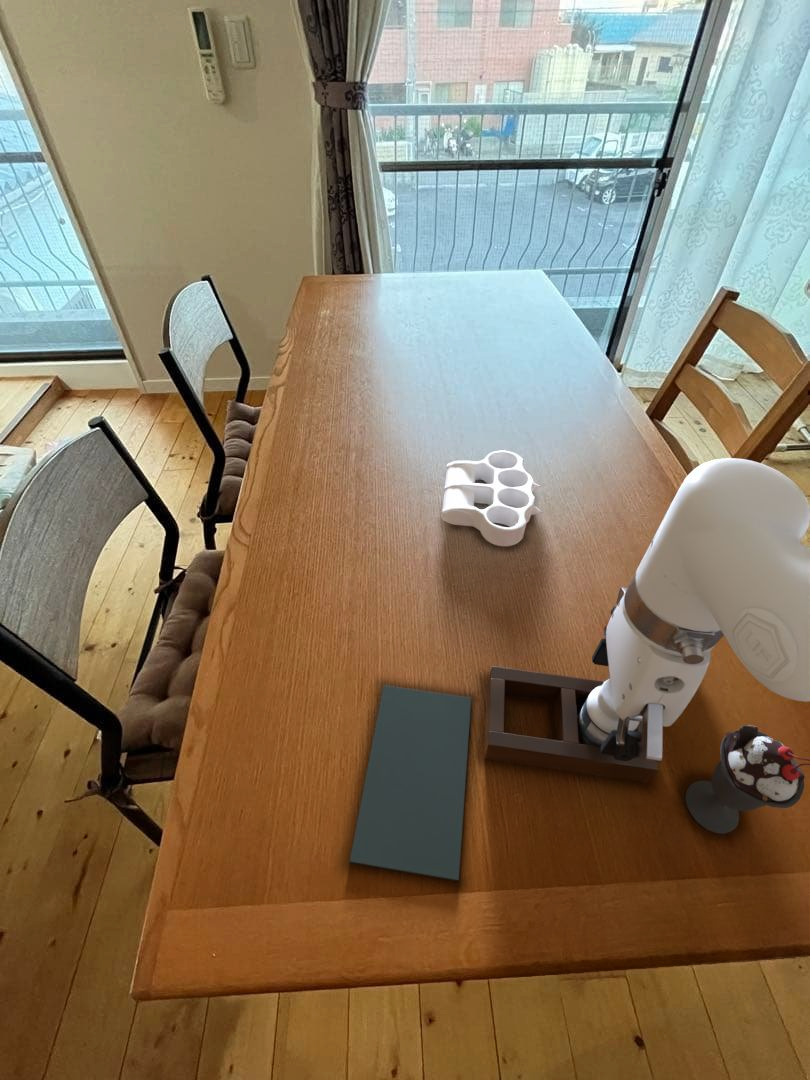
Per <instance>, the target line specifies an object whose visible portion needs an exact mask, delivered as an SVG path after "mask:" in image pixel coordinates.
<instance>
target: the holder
mask: <svg viewBox="0 0 810 1080" xmlns="http://www.w3.org/2000/svg"><path fill="white" fill-rule="evenodd" d="M604 682H605V681H604V680H597V679H589V678H582V677H581V678H580V677H576V676H575V677H574V676H567V675H561V674H553V673H546V672H538V671H531V670H525V669H524V670H523V669H517V668H515V669H514V668H509V667H503V666H502V667H501V666H494V665H492V666H491V668H490V672H489V676H488V680H487V691H486V692H487V693H486V694H487V695H486V707H485V708H486V711H485V713H486V714H485V731H484V748H483V749H484V752H483V758H484V759H485V760H491V761H498V762H506V763H512V764H519V765H524V766H531V767H536V768H537V767H538V768H544V769H552V770H559V771H563V772H564V771H566V772H569V773H570V772H571V773H578V774H585V775H592V776H597V777H603V778H604V777H605V778H610V779H617V780H623V781H631V782H636V783H643V784H647V783H649V782H650V780H651V779H652V778H653V777H654V776H655V775H656V773H657V772H658V771H659V764H658V763H659V762H655V761H648V760H643V759H640V758H637V757H636V758H633V759H632V760H630V761H620V760H616V759H614V757H613V756H611V755H604V754H602V753H601V748H600V747H597V746H590V745H583V744H579V738H578V724H577V716H578V711H577V707H581V708H582V707H583V705H584V704H585V702H586V700H587V698H588V696H589V694H590V693H591V692H592V691H593V690H594V689H595V688H596V687H598V686H601V685H603V683H604ZM505 697H513V698H517V699H518V698H519V699H526V700H533V701H540V702H548V703H553V705H554V728H555V739H549V738H542V737H535V736H528V735H522V734H514V733H509V732H505V727H504V726H505ZM642 711H643V709H642ZM634 731H637V732H642V722H639V725H638V726H637V728H636V729H635V730H634Z"/></svg>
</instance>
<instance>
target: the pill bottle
mask: <svg viewBox="0 0 810 1080" xmlns="http://www.w3.org/2000/svg"><path fill="white" fill-rule="evenodd" d="M618 721H619V716H618V715H617V714H616V712H615V708H614V704H613V697H612V689H611V681H610V678H608V679H606V680H605V681H604V683H603V685H601V686H598V687H596V688H595V689H594V690H593V691H592V692H591V693H590V694H589V696H588V698H587V700H586V702H585V704H584V705H583V707H582V706H581V709H580V711H579V712H578V713H577V724H578V738H579V744H583V745H590V746H597V747H601V746H602V744H603V743H604V741H605V740H606V738H607V737H608V735H609V734H610V733H611V731H612V730H617V727H618ZM639 722H640V721H633V720H630V722H629V727H628V730H630V731H634V730H635V729H636V728H637V726H638V725H639Z"/></svg>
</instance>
